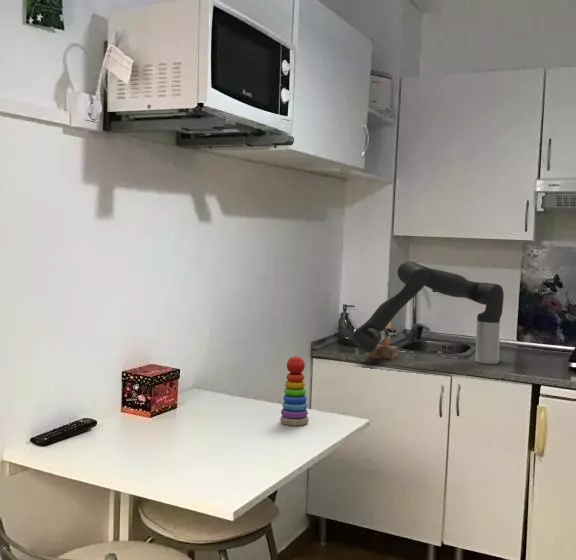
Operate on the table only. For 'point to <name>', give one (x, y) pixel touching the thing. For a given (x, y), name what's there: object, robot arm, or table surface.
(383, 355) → the base
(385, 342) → the orange tan block
